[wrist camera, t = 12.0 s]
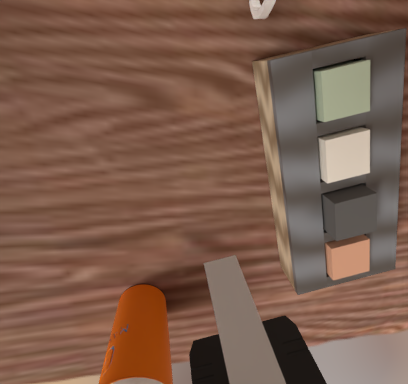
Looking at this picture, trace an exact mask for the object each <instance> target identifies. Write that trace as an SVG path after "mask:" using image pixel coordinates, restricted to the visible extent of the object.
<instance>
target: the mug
mask: <svg viewBox="0 0 408 384" xmlns="http://www.w3.org/2000/svg"><path fill="white" fill-rule="evenodd" d="M275 2H276V0H264V2H263V4H262V6H261V5H260V1H259V0H249V6H250V10H251V13H252V16H253V19H265V18H267V17H268V15H269V13H270V12H271V10H272V8H273V6H274V4H275Z"/></svg>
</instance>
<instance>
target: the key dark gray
mask: <svg viewBox="0 0 408 384" xmlns="http://www.w3.org/2000/svg"><path fill="white" fill-rule="evenodd" d="M321 200H322V215H323V229H324V230H325V231H326V232H327V233H328V234H329V235H330V236H331V237H332V238H333V239H334V240H335V241H340V240H344V239H347V238H351V237H355V236H359V235H363V234H367V233H370V232H374V231H377V193H376V192H375V191H373V190H371V189H369V188H368V187H366V186H364V185H363V184H357V185H353V186H349V187H345V188H342V189H338V190H334V191H330V192H326V193H322V194H321Z"/></svg>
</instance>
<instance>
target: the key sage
mask: <svg viewBox="0 0 408 384" xmlns="http://www.w3.org/2000/svg"><path fill="white" fill-rule="evenodd" d="M313 80H314V95H315V110H316V120H319V121H322V122H327V121H331V120H335V119H339V118H344V117H348V116H352V115H356V114H360V113H364V112H368V111H370V60H350V61H344V62H340V63H335V64H331V65H327V66H323V67H319V68H315V69H313Z"/></svg>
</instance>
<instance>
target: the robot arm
mask: <svg viewBox="0 0 408 384" xmlns="http://www.w3.org/2000/svg"><path fill="white" fill-rule="evenodd" d="M204 267H205V272H206V276H207V281H208V286H209V290H210V295H211V300H212V304H213V309H214V313H215V318H216V323H217V327H218V332H219V334H217V335H213V336H210V337H206V338H202V339H199V340H195V341H193V344H192V348H191V351H190V354H189V356H190V366H191V375H192V384H326V382H325V380H324V378H323V376H322V374H321V372H320V370H319V368H318V366H317V364H316V362H315V361H314V359H313V357H312V355H311V353H310V351H309V350H308V347H307V345H306V343H305V341H304V340H303V338H302V336H301V334H300V332H299V330H298V328H297V326H296V324H294V323H293V322H292V321H291V320H290V319H289V318H287V317H286V316H281V317H277V318H274V319H270V320H266V321H261V319H260V316H259V313H258V311H257V308H256V306H255V303H254V301H253V298H252V296H251V293H250V291H249V288H248V286H247V283H246V280H245V278H244V275H243V273H242V270H241V268H240V265H239V263H238V260H237V258H236V255H234V256H230V257H226V258H222V259H218V260H214V261H210V262H207V263H204Z"/></svg>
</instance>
